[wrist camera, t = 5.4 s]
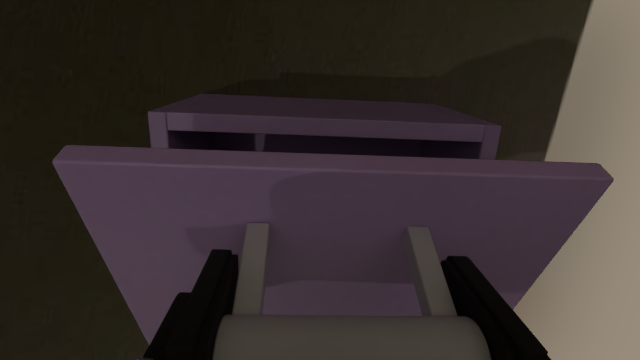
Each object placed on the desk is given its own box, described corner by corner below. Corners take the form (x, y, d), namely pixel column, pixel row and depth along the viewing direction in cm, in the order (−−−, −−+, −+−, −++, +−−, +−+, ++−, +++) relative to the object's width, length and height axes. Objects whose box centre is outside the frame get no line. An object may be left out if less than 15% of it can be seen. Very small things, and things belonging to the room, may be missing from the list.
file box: (201, 93, 24) (146, 111, 15) (434, 103, 25) (502, 125, 16) (210, 274, 28) (172, 365, 20) (409, 276, 29) (453, 364, 21)
